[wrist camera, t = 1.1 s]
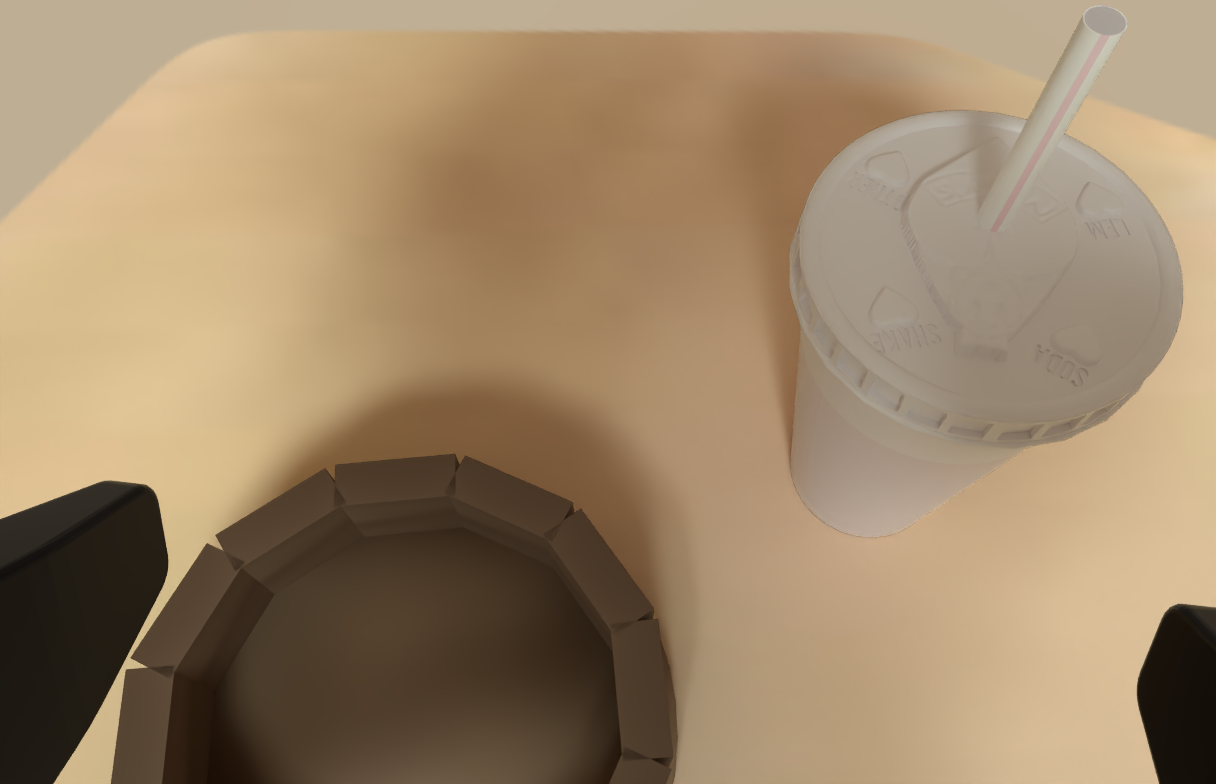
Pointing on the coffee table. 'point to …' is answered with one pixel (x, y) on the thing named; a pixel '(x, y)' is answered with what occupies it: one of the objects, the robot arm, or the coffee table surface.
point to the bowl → (403, 643)
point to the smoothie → (970, 299)
